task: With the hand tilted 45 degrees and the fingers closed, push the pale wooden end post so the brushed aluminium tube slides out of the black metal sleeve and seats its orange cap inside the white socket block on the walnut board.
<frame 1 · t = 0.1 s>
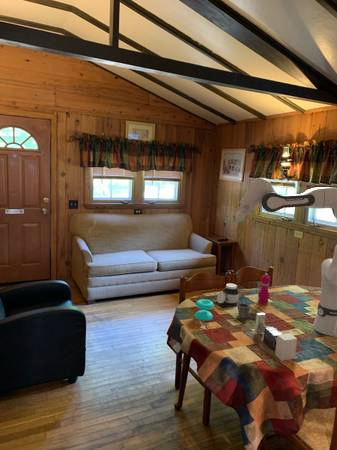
hand: (233, 224, 191), 54 cm above the table, tool tilted 30°, fingers open, 8 cm apart
sleeve: (272, 345, 169), resting on base board
cell phone: (218, 329, 185), on the table
pipe: (246, 318, 199), on the table
base board: (270, 346, 170), on the table
socket: (284, 356, 159), resting on base board
spread jar: (227, 303, 220), on the table
donuts: (203, 318, 196), on the table
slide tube: (268, 330, 171), point 7 cm above the table, slide at 0.0 cm
pepper mill: (263, 302, 224), on the table
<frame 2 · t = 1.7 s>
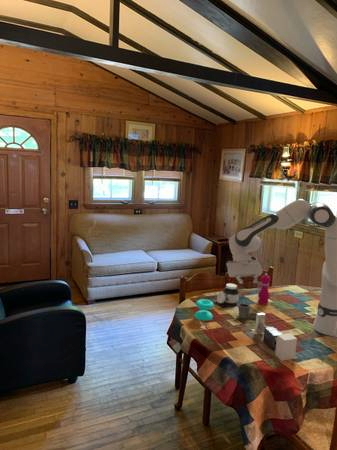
hand: (248, 283, 189), 24 cm above the table, tool tilted 45°, fingers open, 8 cm apart
nothing on the table moved.
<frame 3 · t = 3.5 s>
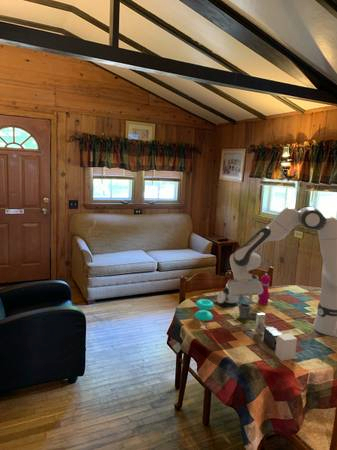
hand: (249, 302, 189), 13 cm above the table, tool tilted 45°, fingers closed
nothing on the table moved.
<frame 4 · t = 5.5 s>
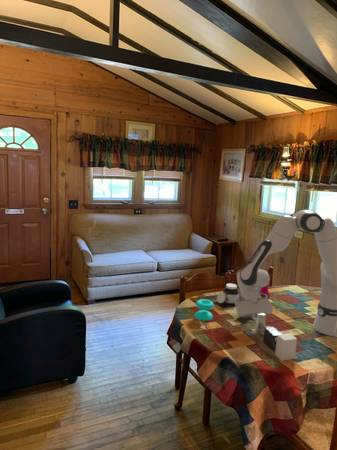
hand: (258, 323, 180), 6 cm above the table, tool tilted 45°, fingers closed, pressing on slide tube
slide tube: (269, 330, 171), point 7 cm above the table, slide at 0.4 cm, touching gripper
everything else where it was.
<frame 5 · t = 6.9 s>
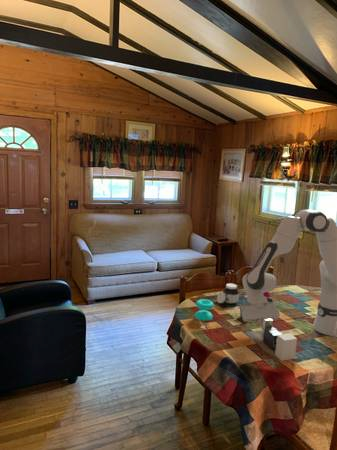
hand: (265, 328, 174), 6 cm above the table, tool tilted 45°, fingers closed, pressing on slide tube
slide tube: (276, 336, 165), point 7 cm above the table, slide at 6.4 cm, touching gripper
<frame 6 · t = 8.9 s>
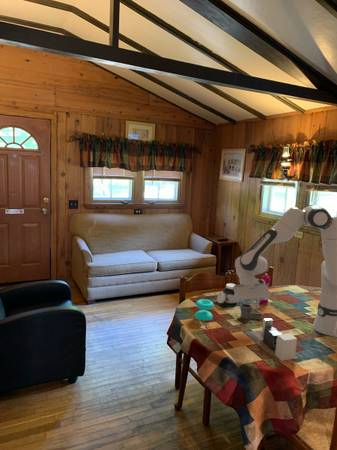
hand: (256, 308, 182), 13 cm above the table, tool tilted 45°, fingers closed
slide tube: (276, 336, 165), point 7 cm above the table, slide at 6.3 cm
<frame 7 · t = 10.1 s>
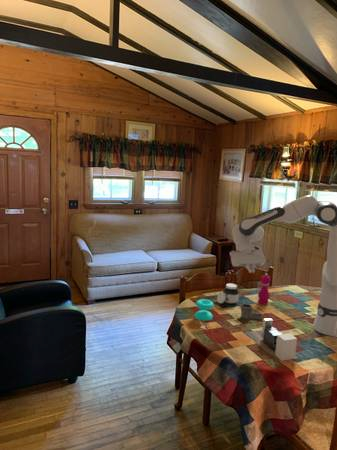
hand: (252, 272, 190), 29 cm above the table, tool tilted 45°, fingers closed
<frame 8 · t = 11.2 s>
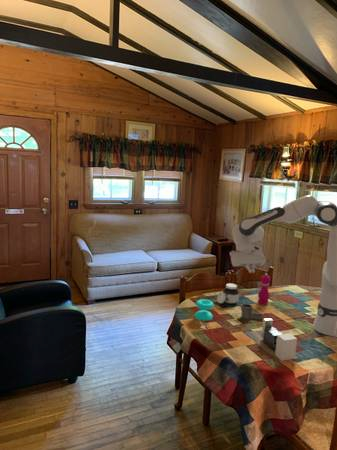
hand: (252, 272, 190), 29 cm above the table, tool tilted 45°, fingers closed
at the end: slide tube slide at 6.3 cm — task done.
